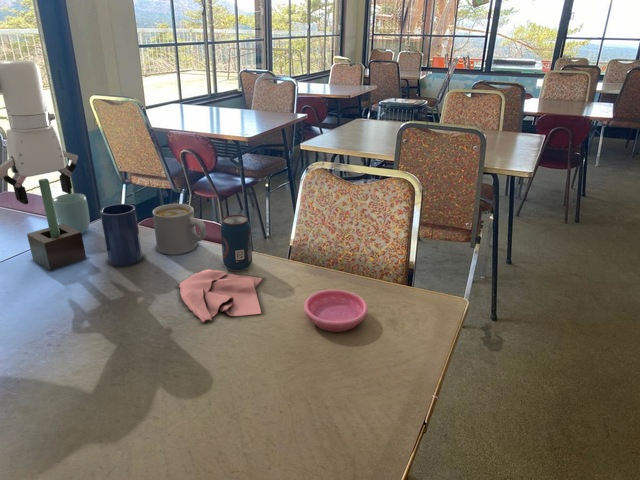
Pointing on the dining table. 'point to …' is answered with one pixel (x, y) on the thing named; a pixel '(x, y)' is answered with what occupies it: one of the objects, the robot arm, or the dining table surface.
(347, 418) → the dining table surface
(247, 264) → the soda can
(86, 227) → the cup
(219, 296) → the cloth
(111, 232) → the tumbler
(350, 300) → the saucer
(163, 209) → the coffee mug
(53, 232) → the brush
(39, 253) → the stand
